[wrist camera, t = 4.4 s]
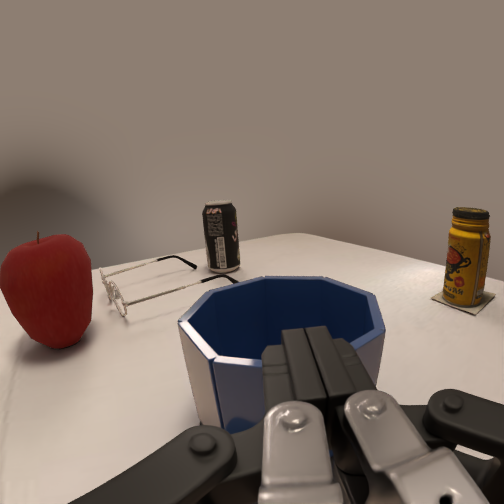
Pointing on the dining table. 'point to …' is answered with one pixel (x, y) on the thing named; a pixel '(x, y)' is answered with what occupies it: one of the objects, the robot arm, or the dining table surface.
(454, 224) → the condiment
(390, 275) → the dining table surface
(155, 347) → the dining table surface
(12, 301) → the apple
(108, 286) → the eyeglasses
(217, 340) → the glazed bowl
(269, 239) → the dining table surface
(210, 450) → the robot arm
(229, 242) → the beverage can
